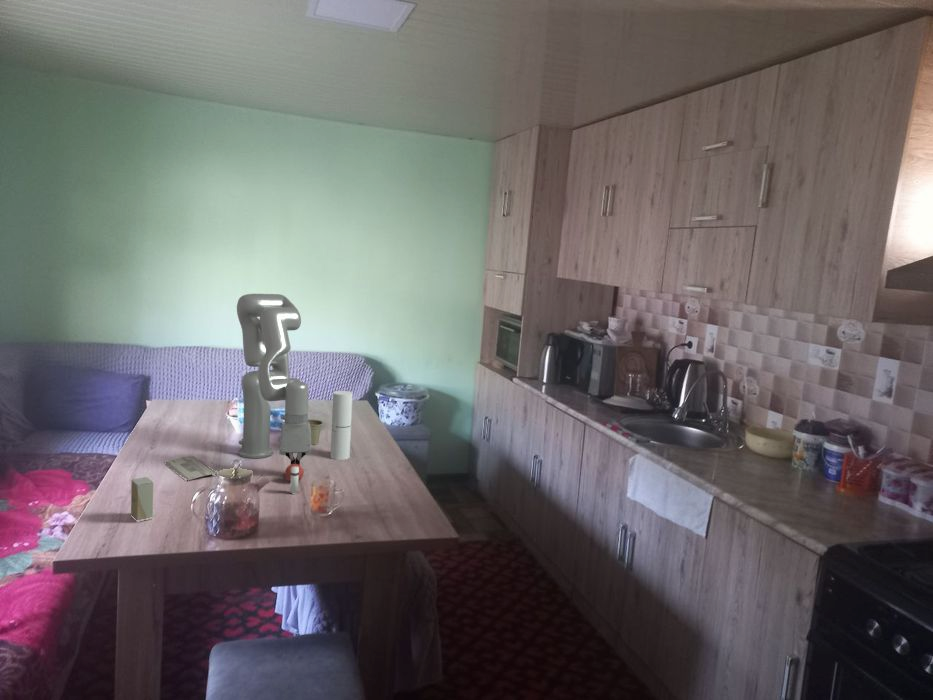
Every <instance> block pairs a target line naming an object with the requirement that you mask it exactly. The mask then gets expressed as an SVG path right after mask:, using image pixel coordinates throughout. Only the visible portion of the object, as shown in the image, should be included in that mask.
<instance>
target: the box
mask: <svg viewBox="0 0 933 700" xmlns="http://www.w3.org/2000/svg"><path fill="white" fill-rule="evenodd" d="M130 484H131V493H130V495H131V497H130V499H131V503H130V516H131V515H132V516H133V517H134V518H135V519H136V520H141V519H146V518H150V517H153V515H154V514H153V512H154V482H153V481H152V480H151V479H150V478H149V477H147V476H146V477H139V478H134V479H131V483H130ZM153 518H154V517H153Z"/></svg>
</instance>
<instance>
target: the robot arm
mask: <svg viewBox="0 0 933 700" xmlns="http://www.w3.org/2000/svg"><path fill="white" fill-rule="evenodd" d="M236 303H237V304H236V313H237V318H238V322H239V324H240V327H241V333H242V346H243V359H244V362H245V364H246V365H247V367H248V366H249V367H251V368H258V369H257V370H252V371H248V372H247V373H245V374H244V375H243V376H242V378H241V390H242V395H243V396H242V397H243V428H242V430H243V432H242V439H241V440H238V444H239V445H241V448H240V449H239V450H238V452H237V453H238V455H239V456H240V457H243V458H247V459H263V458H268V457H270V456H272V455H273V454H274V449H273V448H272V447H270V441H271V440H270V439H271V436H270V435H271V405H270V403H269V402H278V401H285V405H284V414H283V415H281V414H280V420H284V421H283V422H282V424H281V428H280V429H281V430H280V442H279V443H280V445H279V453H278V454H279V455H282V456H286V457H287V458H288V459H289V460H290V465H291V464H298V465H300V466H301V464H300V463H301V459H303V458H304V457H305V456H307V455H310V454H311V455H312V445H311V427H310V422H309V421H308V420H309V385H308V383H306V382H304V381H301V379H299V378H297V377H291V376H290V364H289V363H290V362H289V352H290V351H291V348H292V347H291V342H290V338H289V333H288V331H297V330H298V329H300V327H301V326H302V325H301V324H302V317H301V313H300V312H299V310H298V308H297V307H296V305H295V304H294V303H292V302H291V300H290V299H289V298H288V297H286V296H285V295H283V294H279V293H248V294H243V295H241V296H240V297H239V298H238V300H237V302H236ZM270 367H272V369H270ZM294 453H296V457H295V456H294Z"/></svg>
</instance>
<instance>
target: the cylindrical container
mask: <svg viewBox="0 0 933 700" xmlns="http://www.w3.org/2000/svg"><path fill="white" fill-rule="evenodd" d="M332 394H333V395H332V412H331V413H332V415H331V416H332V418H331V435H330V439H331V440H330V459H332V460H336V461H344V460H345V459H346V460H348V458H349V459H350V457H351V454H350V453H351V438H352V437H351V436H352V435H351V432H352V414H353V413H352V412H353V394H354V392H352V391H348V390H335V391H333V393H332Z"/></svg>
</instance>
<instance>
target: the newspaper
mask: <svg viewBox="0 0 933 700" xmlns="http://www.w3.org/2000/svg"><path fill="white" fill-rule="evenodd" d="M164 463H166V465H168V466H169V467H170V468H171V469H172V470H171V469H170V468H169V467H168V466H167V467H168V468H169V469H170V470H171V471H173V470H174V471H175V472H177V473H178V474H179V475H181V476H182V477H184V478H186V479H187V480H188V482H189V481H190V480H194V479H198V478H202V477H206V476H209V475H210V476H211V474H215V475H216V476H217V472H215V471H216V470H217V469H215V468H213V467H212V469H213V470H212V469H211V468H209V467H211V466H210V465H208V464H206V463H204V462H203V461H201V460H200V459H198V458H197V457H195V456H193V455H187V456H182V457H181V456H180V457H178V458H174V459H170V460H166V461H165V462H163V464H164ZM205 464H206V465H205ZM207 465H208V466H209V467H208V466H207ZM214 470H215V471H214ZM174 471H173V472H174ZM175 472H174V473H175ZM178 474H177V475H178ZM179 475H178V476H179ZM217 477H218V476H217Z"/></svg>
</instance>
